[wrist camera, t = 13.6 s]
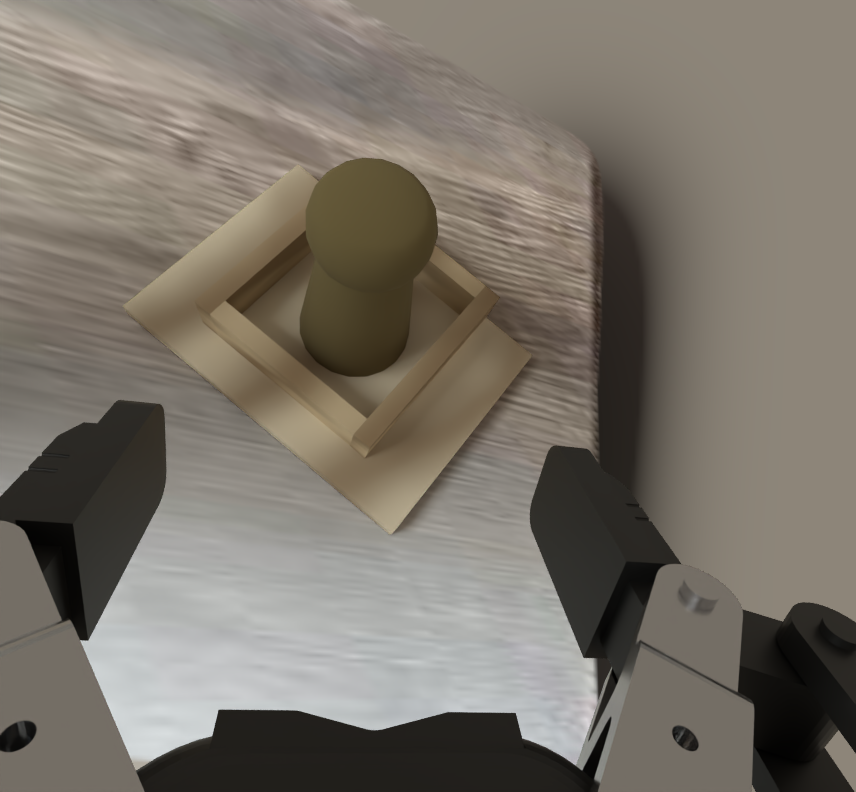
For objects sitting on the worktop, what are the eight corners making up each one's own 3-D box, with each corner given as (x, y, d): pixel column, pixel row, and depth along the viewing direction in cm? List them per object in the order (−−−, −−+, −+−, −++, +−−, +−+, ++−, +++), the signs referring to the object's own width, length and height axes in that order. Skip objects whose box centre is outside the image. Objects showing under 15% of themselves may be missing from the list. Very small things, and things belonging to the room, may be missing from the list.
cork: (404, 384, 30) (452, 284, 20) (291, 368, 29) (279, 254, 19) (413, 286, 32) (461, 149, 22) (307, 268, 31) (305, 116, 21)
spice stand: (128, 314, 29) (105, 281, 26) (298, 175, 34) (297, 133, 30) (389, 534, 28) (400, 529, 25) (526, 361, 33) (550, 338, 30)
